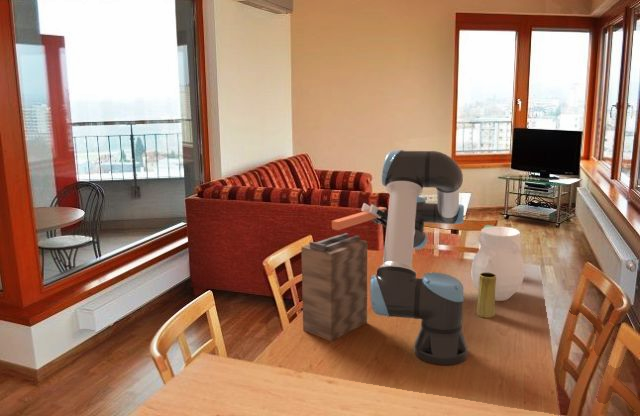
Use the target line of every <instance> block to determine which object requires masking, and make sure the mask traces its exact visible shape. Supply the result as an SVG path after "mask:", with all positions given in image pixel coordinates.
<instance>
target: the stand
mask: <svg viewBox="0 0 640 416" xmlns="http://www.w3.org/2000/svg"><path fill="white" fill-rule="evenodd" d="M300 251H301V286H302V287H301V292H302V294H301V295H302V297H301V298H302V331H303V332H306V333H309V334H312V335H315V336H316V337H320V338H322V339H325V340H328V342H329V341H330V342H332V341H335V340H337V339H338V338H340V337H343V336H344V335H346V334H348V333H350V332H352V331H353V330H355V329H358V328H359V327H363V325H365V324H367V323H368V241H367V240H363V239H361V237H360V235H354V236H352V237H350V234H349V233H348V232H345V233H342V234H338V235H334V236H331V237H329V238H324V239H322V240H319V241H316V242H314V241H309V244H306V245H304V246H301V249H300Z"/></svg>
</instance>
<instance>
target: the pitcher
mask: <svg viewBox="0 0 640 416" xmlns="http://www.w3.org/2000/svg"><path fill="white" fill-rule="evenodd" d="M493 226H494V227H485V228H484V227H483V228H481V230H480V231H481V233H480V234H479V235H478V237H477V239H478V242H479V245H481V248H480V250H479V249H478V251H477V252H476V254H474V255H475V256H473V257H474V258H473V260H472V263H471V268H470V269H471V271H470V272H471V273H470V275H471V279H472V283H473V285H474V286H475V288H476V290H477V292H479V278H480V273H484V272H489V273H493V274H495V275H496V286H495V302H504V301H507V300H509V299H510V298H511V297H512V296H513V295H514V294H515V293H516V292H517V291H518V290H519V289H520V287H521V286H522V283H524V282H523V281H524V278H525V263H524V260H523V257H522V254H521V251H522V246H523V245H522V243H521V241H520V237H521V232H520V231H519V230H518V229H517V228H513V227H509V226H508V227H507V226H495V225H493Z"/></svg>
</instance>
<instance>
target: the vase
mask: <svg viewBox="0 0 640 416" xmlns="http://www.w3.org/2000/svg"><path fill="white" fill-rule="evenodd" d="M495 286H496V275H495V274H493V273H489V272H484V273H480V278H479V291H478V294H477V295H478V296H477V304H476V312H475V313H476V315H477V316H478V317H481V318H485V319H490V318H491V319H492V318H494V317H495V316H496V301H495Z"/></svg>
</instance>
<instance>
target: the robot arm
mask: <svg viewBox="0 0 640 416" xmlns="http://www.w3.org/2000/svg"><path fill="white" fill-rule="evenodd" d="M381 174H382V175H381V184H382V186H384V187H385V191H386V192H387V193H388V195H389V200H388V201H389V202H388V209H386V210H384V212H383V211H382V210H381V209H379V208H378V207H379V206H376V205H375V204H373V203H372V204H370V205H369V204H367V203H365V202H363V204H362V206H361V212H364V211H368V210H369V212H370V213H372V214H373V215H375V216H376V217H378V218H375V219H372V220H371V221H372V222H374V223H375V224H376V225H379V224H380V225H381V226H384V228H385V238H384V239H385V241H384V249H383V259H382V265H380V266H378V268H377V270H376V274H373V275H371V276H370V281H369V283H370V284H369V285H370V286H369V287H370V288H369V290H370V293H369V294H370V301H371V308H372V311H373V313H375V315H378V316H383V317H387V318H390V317H392V318H406V319H415V320H421V321H420V323H421V324H420V329H419V331H418V334H417V336H416V338H415V341H414V348H413V349H414V354H415V355H416V357H418V358H419V359H420V360H421V361H423V362H427V363H429V364H432V365H439V366H451V365H452V366H453V365H458V364H461V363H462V362H464V361H465V360H466V359H467V356H468V346H467V342H466V340H465V339H466V338H465V336H464V333H463V313H464V312H463V311H464V301H465V296H464V285H463V283H462V281H461V280H459V279H458V278H456V277H454V276H452V275H450V274H446V273H443V272H433V271H432V272H426V273H424V274H423V276H422V277H421V278H417V272H416V270H414V268H413V267H412V266H413V254H414V253H413V252H414V250H422V249H423V248H424V247H426V245H427V243H428V236H427V234H426V233H425V231H424V230H425V228H424V227H425V223H426V224H427V223H428V224H447V225H462V224H464V213H465V206H464V204H460V189H461V187H462V185H463V179H464V178H463V177H464V174H463V171H462V168H461V167H460V166H459V164H458V162H456V161H455V160H454V159H453V158H451V156H449V155H447V154H445V153H443V152H440V151H435V150H431V151H429V150H403V149H400V150H391V151H389V152H388V153H387V154H386V156H385V159H384V161H383V164H382V173H381ZM423 188H435V189H436V196H437V200H436V201H437V203H435V202H434V203H433V202H432V203H431V202H426V201H427V200H426V199H425V198H424V197H422V196H420V195H422V193H423Z"/></svg>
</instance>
